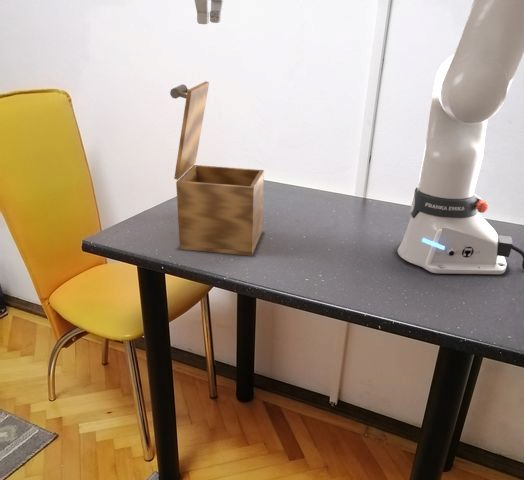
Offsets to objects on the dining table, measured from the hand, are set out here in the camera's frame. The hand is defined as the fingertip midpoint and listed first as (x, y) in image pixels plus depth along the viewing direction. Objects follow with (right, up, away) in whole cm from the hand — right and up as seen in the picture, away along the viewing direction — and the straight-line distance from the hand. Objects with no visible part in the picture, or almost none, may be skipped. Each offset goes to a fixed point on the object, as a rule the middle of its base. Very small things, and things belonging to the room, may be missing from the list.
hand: (209, 23), depth 97 cm
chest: (+1, -35, +23) cm, 42 cm away
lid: (-4, -15, +11) cm, 19 cm away
